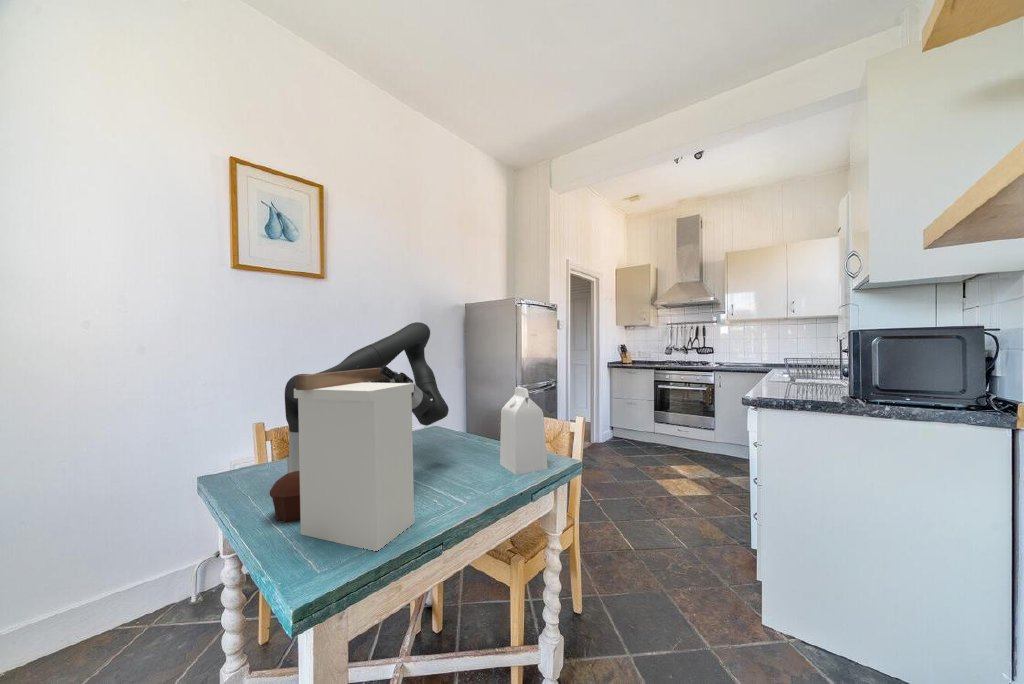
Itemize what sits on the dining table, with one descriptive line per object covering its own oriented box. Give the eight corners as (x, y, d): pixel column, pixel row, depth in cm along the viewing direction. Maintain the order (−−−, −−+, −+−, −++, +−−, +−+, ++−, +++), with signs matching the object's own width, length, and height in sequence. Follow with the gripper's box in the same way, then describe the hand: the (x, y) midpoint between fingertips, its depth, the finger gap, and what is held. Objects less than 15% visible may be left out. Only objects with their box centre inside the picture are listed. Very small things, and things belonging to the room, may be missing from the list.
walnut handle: (295, 389, 76) (295, 375, 76) (376, 378, 98) (376, 367, 98) (306, 390, 75) (305, 375, 75) (385, 379, 97) (385, 367, 97)
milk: (547, 468, 117) (545, 388, 117) (515, 475, 112) (513, 391, 112) (529, 458, 128) (527, 385, 128) (499, 464, 123) (498, 387, 123)
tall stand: (296, 536, 78) (293, 388, 78) (347, 508, 91) (344, 382, 91) (373, 554, 71) (370, 391, 71) (417, 521, 84) (413, 383, 84)
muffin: (261, 517, 88) (260, 475, 88) (307, 500, 97) (307, 462, 97) (284, 530, 81) (283, 485, 81) (332, 510, 90) (331, 470, 91)
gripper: (389, 381, 111) (353, 356, 98) (428, 381, 106) (396, 356, 93) (381, 404, 108) (343, 382, 95) (421, 405, 103) (386, 382, 90)
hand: (369, 369), depth 94 cm, fingers open, 8 cm apart
